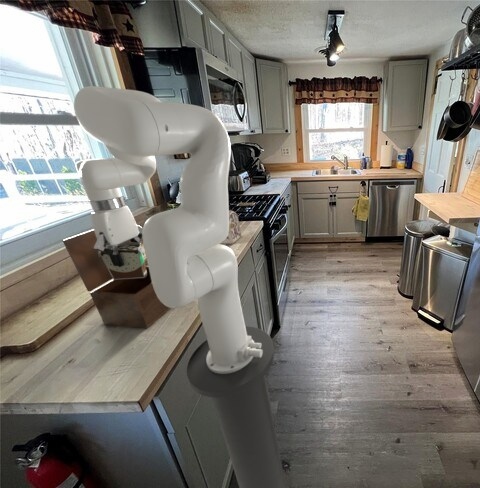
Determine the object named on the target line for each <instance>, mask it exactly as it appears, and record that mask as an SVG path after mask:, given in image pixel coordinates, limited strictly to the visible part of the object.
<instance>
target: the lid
mask: <svg viewBox="0 0 480 488" xmlns="http://www.w3.org/2000/svg"><path fill="white" fill-rule="evenodd" d="M61 241H62V243H63V245H64V247H65V249H66V251H67V253H68V255H69V257H70V259H71V260H72V264H74V265H73V266H74V267H75V268H76V271H77V273H78V275H79V277H80V279H81V280H82V283H83V285H84V286H85V289H86V290H87V292H92V291H94V290H95V289H97V288H99V287H101V286H103V285H104V284H106V283H108V282H110V281H111V280H113V278H112V276H111V274H110V272H109V270H108V269H107V267H106V265H105V263H104V261H103V259H102V257H99V255H98V252H99V251H98V250H96V249H94V246H95V244H96V242H97V238H96V235H95V232H94V228H93V229H91V230H88V231H84V232H82V233H79V234H76V235H73V236H71V237H67V238H64V239H62V240H61ZM128 242H130V241H129V240H127V241H125V242H123V243H128ZM120 244H121V243H120ZM103 246H104V247H105V248H106V245H103Z"/></svg>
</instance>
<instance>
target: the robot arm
mask: <svg viewBox="0 0 480 488" xmlns="http://www.w3.org/2000/svg"><path fill="white" fill-rule="evenodd" d="M73 109H74V115H75V118H76V120H77V122H78V124H79V125H80V127H81V128H82V130H83V131H84V132H85V133H86V134H87V135H88V136H90V138H93V139H94V140H96V141H98V142H99V143H101V144H103V146H104V148H105V149H106V150H107V152H109V154H111V156H113V157H105V158H89V159H80V160H77V161H76V162H75V169H76V172H77V174H78V176H79V179H80V181H81V183H82V186H83V189H84V191H85V193H86V196H87V199H88V201H89V203H90V206H91V209H92V211H91V212H90V217H91V225H92V228H93V229H94V232H95V235H96V238H97V242H96V244H95V246H94V249H96V250H98V251H101V252H102V253H105V254H106V255H109V256H110V259H111V261H112V263H113V265H114V266H124V262H123V260H122V257H121V255H120V254H117V253H118V244H120V243H123V242H125V241H127V240H129V242H136V243H140V245H142V243H143V248H144V250H145V251H144V253H145V254H144V253H143V256H144V255H145V257H146V262H147V266H148V267H149V272H150V276H151V281H152V285H153V288H154V291H155V293H156V295H157V297H158V299H159V300H160V301H161V302H162V303H163V304H164V305H165V306H167V307H169V308H170V309H181V308H183V307H186V306H188V305H189V304H191V303H194V302H195V301H197V308H198V312H199V316H200V320H201V323H202V327H203V331H204V333H205V337H206V340H207V341H208V344H209V348H210V351H209V352H208V354H207V358H206V363H207V366H208V368H209V369H210V370H211V371H212V372H215V373H218V374H227V373H232V372H235V371H237V370H240V369H241V368H243V367H245V366H246V365H247V364H248V363H249V362H250V361H251V360H252V358H253V357H260V358H261V357H262V354H263V350H261V349H256V348H261V346H262V344H261V343H254V341H253V340H252V338H251V336H247V332H246V327H247V326H246V322H245V319H244V318H245V317H244V313H243V308H242V302H241V297H240V292H239V282H238V279H239V278H238V277H239V276H238V274H239V266H238V259H237V257H236V255H235V252H234V251H233V250H232V249H231V248H230V247H228V246H227V245H226V244H220V243H221V242H223V241H224V240H225V239H226V238H227V236H228V233H229V210H230V207H229V206H230V205H229V204H230V203H229V172H230V165H231V151H232V149H231V141H230V137H229V134H228V131H227V128H226V126H225V124H224V123H223V121H222V119H221V118H220V117H219V116H218V115H217V114H216V113H215V112H213V111H211V110H210V109H208V108H205V107H203V106H200V105H195V104H191V103H182V102H174V101H173V102H172V101H161V100H160V99H159V98H157V97H156V96H155V95H153V94H151V93H148V92H145V91H141V90H135V89H126V88H117V87H116V88H115V87H106V86H96V85H89V86H88V85H87V86H85V87H82V88H81V89H79V90H78V91H77V93H76V94H75V96H74V101H73ZM182 154H189V155H190V157H189V159H188V160H187V162H186V164H185V165H184V166H183V170H182V172H181V175H180V178H179V190H180V199H181V200H180V205H178V207H176V208H172V209H168V210H164V211H161V212H158V213H155V214H153V215H151V216H150V217H148V218H147V219H146V221H145V222H144V224H143V227H142V226H140V225H138V224H137V222H136V219H135V217H134V215H133V213H132V211H131V210H130V208H129V205H126V202H125V201H126V199H127V198H126V197H125V196H123V193H122V191H121V188H125V187H132V186H137V185H142V184H145V183H147V182H148V181H149V180H150V179H152V177H153V176H154V175H155V173H156V171H157V160H156V157H158V156H159V157H161V156H170V155H182ZM103 245H106V248H105V247H104V246H103ZM112 246H113V247H112ZM111 247H112V250H111Z"/></svg>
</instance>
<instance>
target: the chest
mask: <svg viewBox="0 0 480 488" xmlns="http://www.w3.org/2000/svg"><path fill="white" fill-rule="evenodd" d="M145 266H146V271H147V276H146V277H145V278H134V279H119V280H113V279H111V280H109V281H108V282H106V283H104V284H102V285H101V286H99V287H97V288H95V289H93V290H92V291H89V295H90V296H91V299H92V301H93V304H94V305H95V307H96V310H97V311H98V314H99V316H100V318H101V320H102V323H103V324H104V325H106V326H107V325H108V326H118V327H130V328H141V329H142V328H143V329H148V328H150V327H151V326H152V325H153V324H154V323H155V322H157V320H159V319H160V318H161V317H162V316H163V315H164V314H166V313H167V312H168V311H169V310H170V309H171V308H169V307H167V306H165V305H164V304H163V303H162V302H161V301H160V300H159V299H158V297H157V295H156V293H155V291H154V288H153V285H152V281H151V276H150V272H149V267H148V265H145Z"/></svg>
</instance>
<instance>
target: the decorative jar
mask: <svg viewBox="0 0 480 488" xmlns="http://www.w3.org/2000/svg"><path fill="white" fill-rule="evenodd" d="M240 238H242V231H241V226H240V221H239V215H238V214H237V213H236V212H235V211H233V210H231V209H229V233H228V236H227V238H226V239H225V240H224V241H223V242H221V243H220V244H222V245H233V244H235V243H236V242H237V241H238V240H239V239H240Z"/></svg>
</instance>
